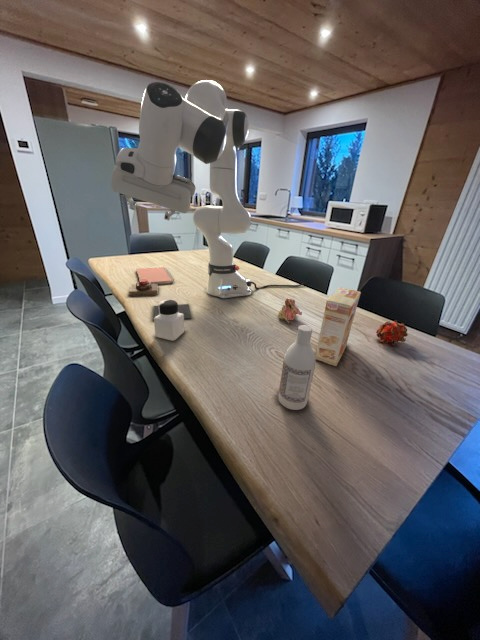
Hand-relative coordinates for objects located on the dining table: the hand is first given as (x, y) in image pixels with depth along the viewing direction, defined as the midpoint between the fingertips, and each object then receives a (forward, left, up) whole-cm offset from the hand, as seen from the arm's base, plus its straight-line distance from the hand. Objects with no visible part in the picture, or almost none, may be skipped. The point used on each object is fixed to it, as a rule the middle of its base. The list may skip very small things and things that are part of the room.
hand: (150, 213), depth 76 cm
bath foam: (-31, +41, -38) cm, 64 cm away
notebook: (+4, -64, -38) cm, 74 cm away
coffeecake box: (-53, +23, -38) cm, 70 cm away
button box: (+8, -41, -38) cm, 56 cm away
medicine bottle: (-3, +3, -38) cm, 39 cm away
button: (+8, -41, -35) cm, 54 cm away
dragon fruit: (-77, +21, -38) cm, 89 cm away
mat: (-4, -15, -38) cm, 41 cm away
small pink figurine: (-50, -2, -38) cm, 63 cm away
